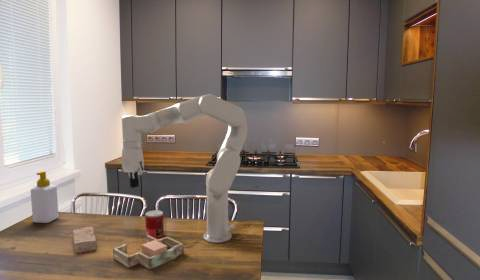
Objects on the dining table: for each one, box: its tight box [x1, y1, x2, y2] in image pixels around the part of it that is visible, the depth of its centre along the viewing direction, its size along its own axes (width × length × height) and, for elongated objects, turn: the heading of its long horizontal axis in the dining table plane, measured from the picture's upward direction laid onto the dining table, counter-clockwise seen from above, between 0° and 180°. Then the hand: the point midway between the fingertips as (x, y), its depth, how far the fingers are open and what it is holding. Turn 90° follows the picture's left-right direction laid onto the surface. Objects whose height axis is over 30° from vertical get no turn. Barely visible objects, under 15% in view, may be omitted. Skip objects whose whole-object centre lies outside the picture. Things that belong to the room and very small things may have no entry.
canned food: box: [144, 209, 165, 240], centre depth 161 cm, size 8×8×11 cm
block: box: [141, 240, 167, 257], centre depth 139 cm, size 6×8×6 cm
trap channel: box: [112, 235, 185, 270], centre depth 143 cm, size 22×19×4 cm
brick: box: [72, 226, 97, 254], centre depth 154 cm, size 17×8×5 cm, turn 27°
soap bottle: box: [30, 170, 60, 224], centre depth 180 cm, size 9×9×25 cm
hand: (134, 186), depth 153 cm, fingers closed
